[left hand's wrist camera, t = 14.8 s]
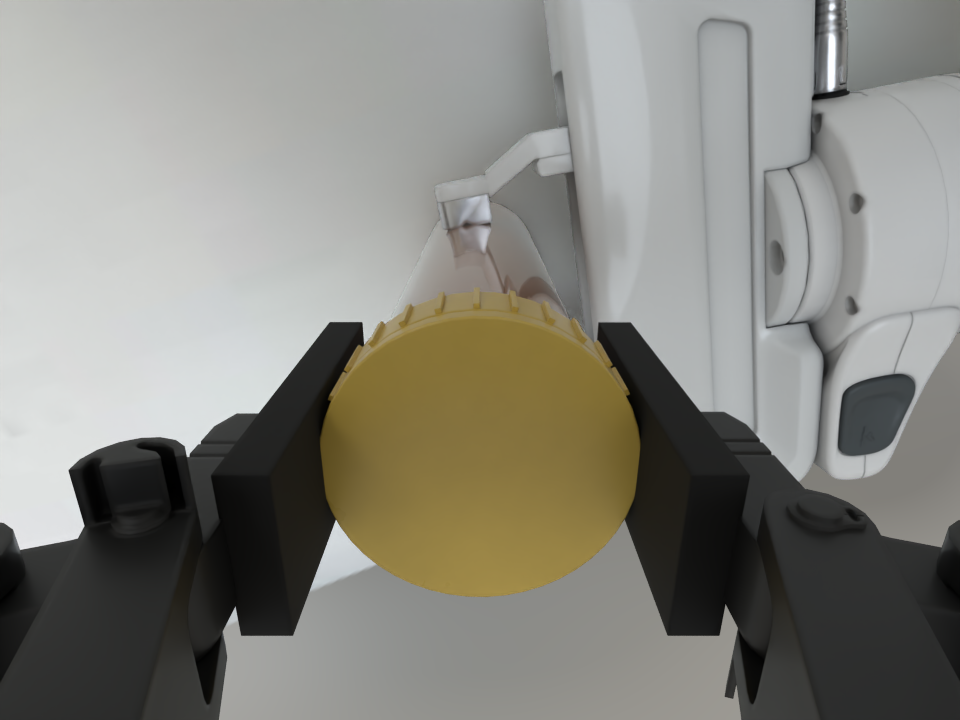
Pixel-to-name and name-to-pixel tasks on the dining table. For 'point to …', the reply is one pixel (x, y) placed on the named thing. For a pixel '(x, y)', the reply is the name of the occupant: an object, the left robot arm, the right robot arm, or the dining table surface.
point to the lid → (480, 445)
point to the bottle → (481, 263)
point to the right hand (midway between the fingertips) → (456, 295)
